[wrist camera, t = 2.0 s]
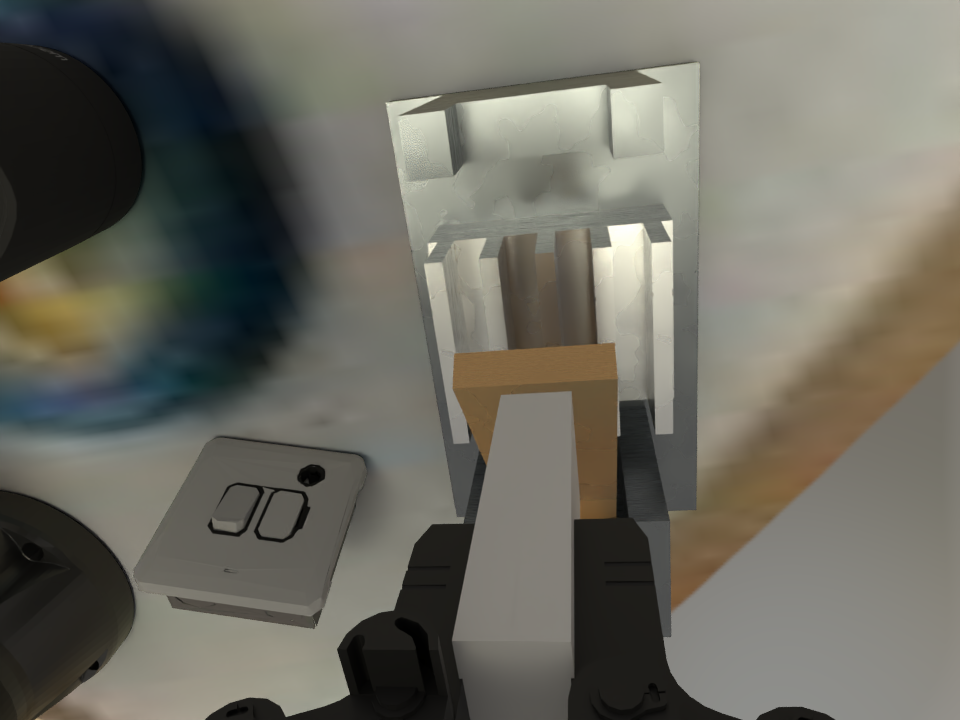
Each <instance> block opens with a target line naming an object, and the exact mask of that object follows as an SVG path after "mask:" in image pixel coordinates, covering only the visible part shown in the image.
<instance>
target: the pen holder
mask: <svg viewBox="0 0 960 720" xmlns="http://www.w3.org/2000/svg"><path fill="white" fill-rule="evenodd" d="M141 174H142V160H141V152H140V146H139V142H138V138H137V135H136V132H135V129H134V126H133V124H132V122H131V120H130V117H129V115H128V113H127V111H126V110H125V108H124V106H123V105H122V103H121V102H120V100H119V99H118V97H117V96H116V95H115V93H114V92H113V91H112V90H111V88H110V87H109V86H108V85H107V84H106V83H105V82H104V81H103V80H102V79H101V78H100V77H99V76H98V75H97V74H96V73H94V72H93V71H92V70H91V69H90V68H88V67H87V66H85V65H84V64H82V63H81V62H80V61H78V60H76V59H74V58H72V57H71V56H69V55H67V54H64V53H62V52H59V51H57V50H54V49H50V48H46V47H42V46H35V45H25V44H13V43H0V282H1V281H3V280H5V279H7V278H9V277H11V276H13V275H15V274H17V273H19V272H21V271H24V270H26V269H28V268H30V267H32V266H34V265H36V264H38V263H40V262H42V261H44V260H46V259H48V258H50V257H52V256H54V255H56V254H58V253H60V252H63V251H65V250H67V249H69V248H71V247H73V246H75V245H77V244H79V243H81V242H82V241H84V240H86V239H88V238H90V237H92V236H94V235H96V234H98V233H100V232H101V231H103V230H105V229H107V228H109V227H111V226H112V225H114V224H115V223H116V222H118V221H119V220H120V219H121V218H122V217H123V216H124V215H125V214H126V213H127V212H128V210H129V209H130V207H131V206H132V204H133V202H134V200H135V198H136V196H137V193H138V190H139V186H140V181H141Z"/></svg>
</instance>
